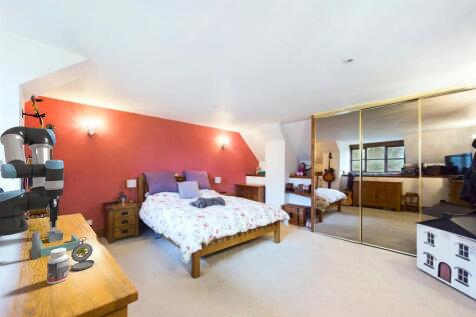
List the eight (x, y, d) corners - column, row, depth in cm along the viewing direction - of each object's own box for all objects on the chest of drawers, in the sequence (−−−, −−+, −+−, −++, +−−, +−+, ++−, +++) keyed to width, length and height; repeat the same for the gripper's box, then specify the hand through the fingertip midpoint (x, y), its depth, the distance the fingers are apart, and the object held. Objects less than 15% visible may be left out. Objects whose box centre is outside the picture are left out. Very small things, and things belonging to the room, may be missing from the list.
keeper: (29, 249, 93) (30, 227, 93) (73, 240, 104) (74, 220, 105) (31, 260, 83) (32, 234, 83) (80, 248, 94) (80, 226, 94)
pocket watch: (82, 272, 73) (83, 243, 74) (63, 269, 75) (64, 241, 75) (102, 261, 81) (102, 235, 82) (84, 259, 83) (84, 234, 83)
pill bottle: (42, 282, 67) (43, 251, 67) (62, 274, 72) (62, 245, 72) (53, 286, 65) (53, 254, 65) (72, 277, 70) (72, 248, 70)
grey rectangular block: (47, 240, 106) (47, 232, 106) (59, 237, 109) (60, 229, 109) (49, 243, 101) (49, 235, 101) (62, 240, 105) (62, 232, 105)
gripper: (43, 188, 113) (42, 232, 112) (45, 190, 104) (44, 237, 103) (61, 187, 118) (60, 228, 117) (65, 188, 109) (64, 234, 109)
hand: (53, 233), depth 110 cm, fingers closed
